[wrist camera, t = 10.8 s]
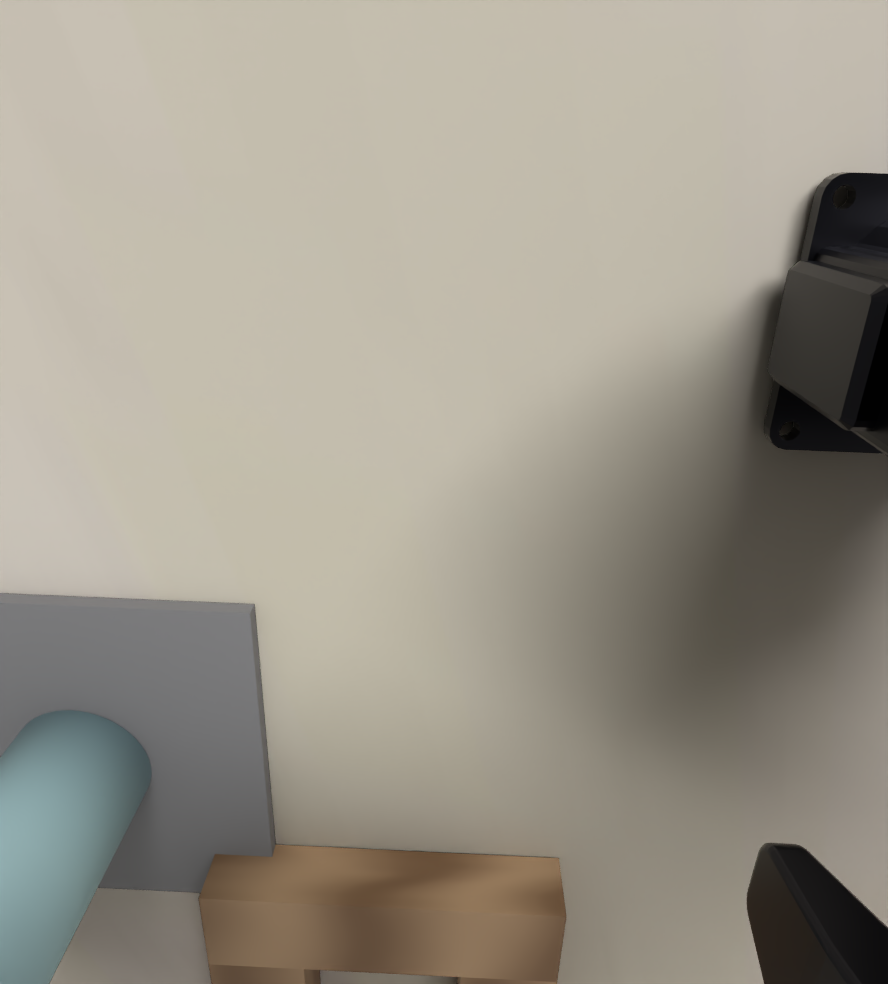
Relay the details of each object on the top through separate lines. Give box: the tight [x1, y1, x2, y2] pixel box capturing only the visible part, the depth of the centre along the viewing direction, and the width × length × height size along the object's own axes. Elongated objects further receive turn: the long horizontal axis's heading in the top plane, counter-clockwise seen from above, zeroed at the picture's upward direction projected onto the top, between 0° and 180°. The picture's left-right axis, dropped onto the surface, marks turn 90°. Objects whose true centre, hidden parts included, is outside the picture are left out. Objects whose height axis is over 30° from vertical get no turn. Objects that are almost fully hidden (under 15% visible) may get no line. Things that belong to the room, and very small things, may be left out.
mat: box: [0, 593, 276, 893], centre depth 24 cm, size 12×12×1 cm
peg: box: [0, 710, 152, 984], centre depth 20 cm, size 4×4×9 cm
